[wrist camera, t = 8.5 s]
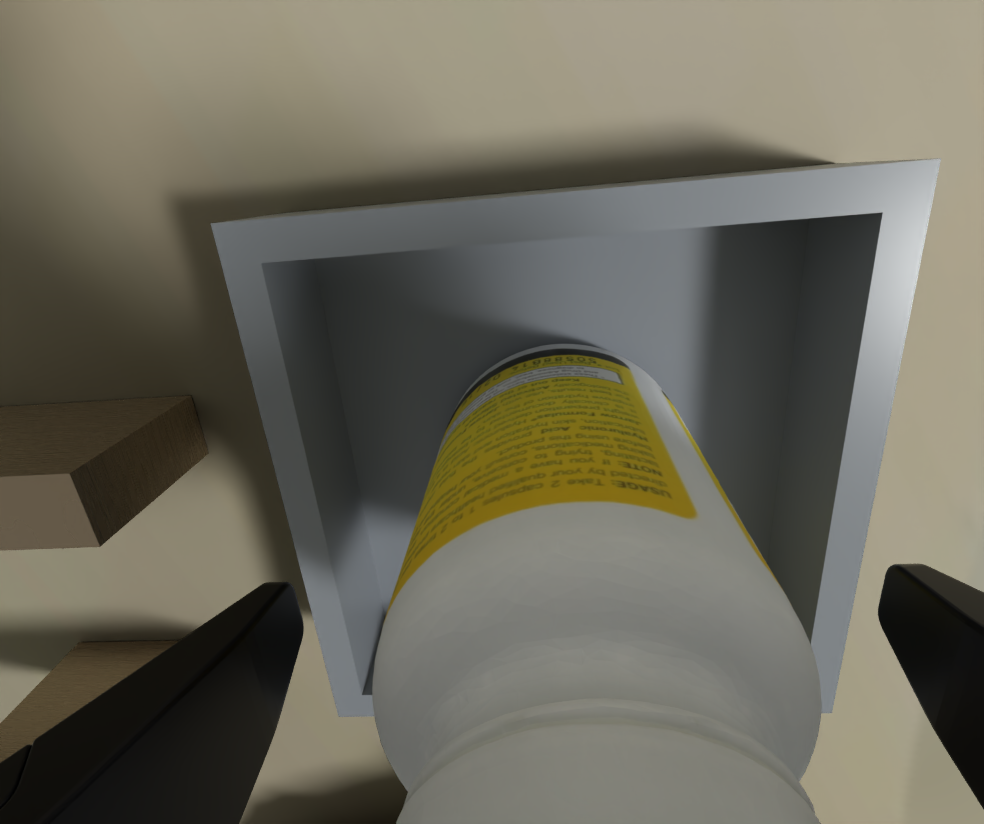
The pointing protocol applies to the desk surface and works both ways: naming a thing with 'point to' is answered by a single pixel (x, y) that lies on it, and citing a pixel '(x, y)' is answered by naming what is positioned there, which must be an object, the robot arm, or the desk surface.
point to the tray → (593, 322)
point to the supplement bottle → (588, 619)
